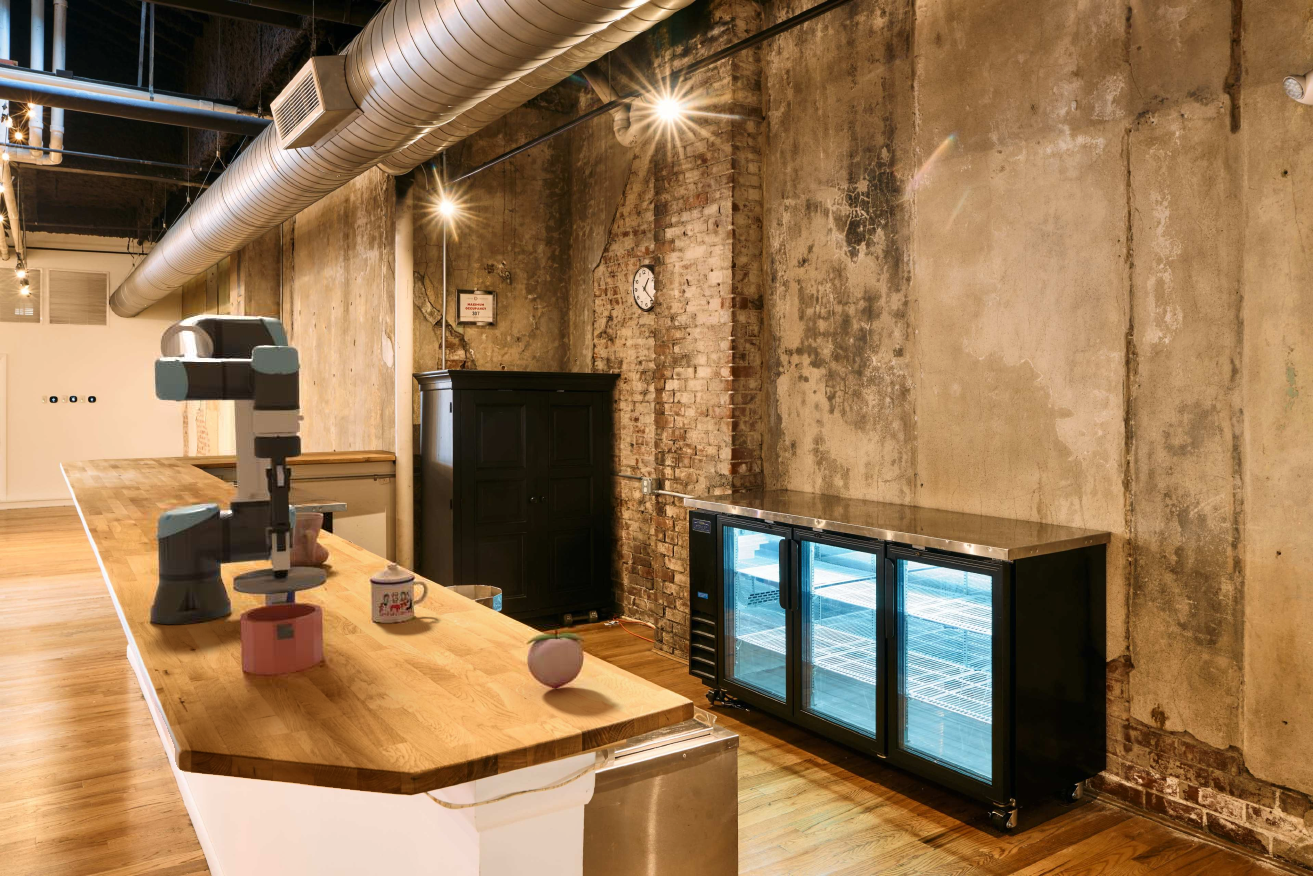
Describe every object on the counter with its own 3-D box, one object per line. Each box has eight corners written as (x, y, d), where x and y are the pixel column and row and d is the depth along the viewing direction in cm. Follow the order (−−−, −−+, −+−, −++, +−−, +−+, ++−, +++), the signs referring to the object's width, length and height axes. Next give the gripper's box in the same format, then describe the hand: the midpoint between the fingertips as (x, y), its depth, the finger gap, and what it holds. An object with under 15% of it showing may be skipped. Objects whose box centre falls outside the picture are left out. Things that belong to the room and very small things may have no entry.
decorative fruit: (535, 702, 132) (535, 639, 132) (522, 685, 140) (522, 625, 139) (593, 694, 136) (592, 632, 135) (576, 677, 144) (576, 619, 143)
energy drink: (302, 633, 169) (300, 573, 168) (282, 641, 164) (280, 579, 163) (280, 630, 171) (279, 571, 170) (260, 638, 166) (258, 577, 165)
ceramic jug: (263, 565, 233) (261, 514, 232) (317, 559, 242) (316, 509, 241) (282, 577, 219) (281, 522, 218) (339, 569, 228) (338, 517, 227)
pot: (328, 674, 145) (327, 622, 144) (243, 686, 139) (241, 632, 138) (316, 641, 164) (315, 595, 163) (241, 650, 158) (239, 602, 157)
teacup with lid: (376, 626, 174) (375, 570, 173) (365, 616, 182) (364, 562, 181) (434, 618, 180) (433, 563, 180) (421, 608, 188) (420, 556, 187)
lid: (213, 590, 145) (211, 532, 145) (277, 572, 160) (276, 519, 159) (284, 597, 141) (283, 537, 140) (344, 578, 155) (343, 523, 155)
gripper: (304, 436, 143) (307, 574, 144) (296, 432, 158) (299, 556, 160) (255, 437, 139) (258, 578, 141) (252, 432, 155) (255, 560, 156)
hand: (280, 566), depth 150 cm, fingers closed on lid, 4 cm apart
